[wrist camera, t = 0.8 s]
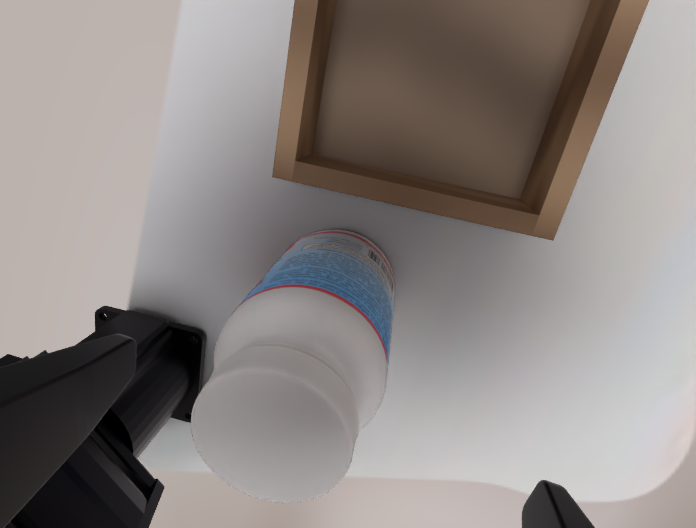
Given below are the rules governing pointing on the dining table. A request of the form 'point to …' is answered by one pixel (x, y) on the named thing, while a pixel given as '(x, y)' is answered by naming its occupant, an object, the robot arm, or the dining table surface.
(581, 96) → the walnut socket
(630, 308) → the dining table surface
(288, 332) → the pill bottle
